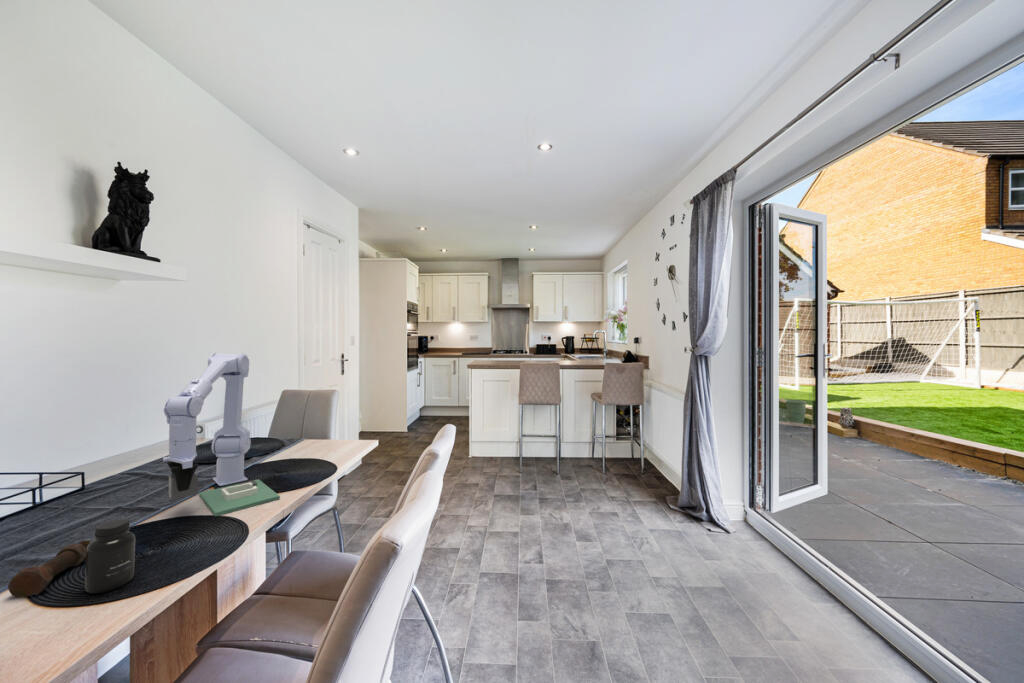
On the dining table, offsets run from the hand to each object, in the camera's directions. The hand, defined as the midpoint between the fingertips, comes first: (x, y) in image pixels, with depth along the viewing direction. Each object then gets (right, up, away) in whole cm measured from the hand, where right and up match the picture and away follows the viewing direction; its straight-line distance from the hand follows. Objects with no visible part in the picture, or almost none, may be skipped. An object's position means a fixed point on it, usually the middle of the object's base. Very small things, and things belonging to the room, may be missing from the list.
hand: (181, 488), depth 106 cm
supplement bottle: (+11, -8, -30) cm, 33 cm away
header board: (+7, -8, +12) cm, 16 cm away
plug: (0, -2, 0) cm, 2 cm away
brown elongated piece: (-2, -8, -27) cm, 28 cm away
